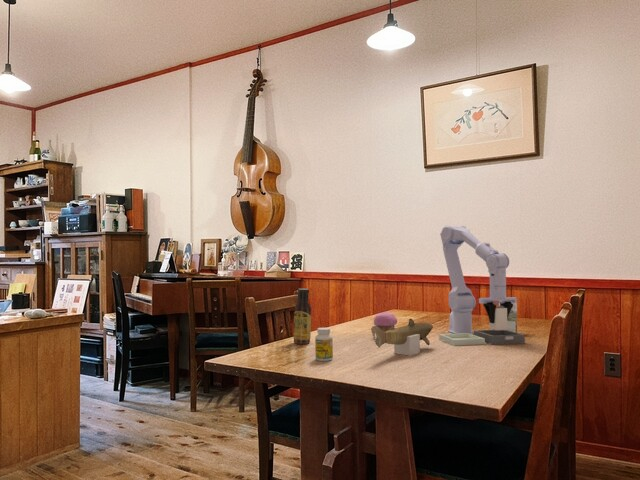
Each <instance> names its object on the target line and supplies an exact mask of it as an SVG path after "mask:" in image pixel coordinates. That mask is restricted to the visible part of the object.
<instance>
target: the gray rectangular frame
mask: <svg viewBox="0 0 640 480" xmlns="http://www.w3.org/2000/svg"><path fill="white" fill-rule="evenodd" d="M473 332H474V334H473V335H475V336H479V337H482V338H485V344H489V345H496V346H497V345H511V344H512V345H513V344H515V345H516V344H525V343H526V337H525V334H524V333H520V332H517V333H516V332H513V331H509V330H493V329H480V330H479V329H477V330H473Z"/></svg>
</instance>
